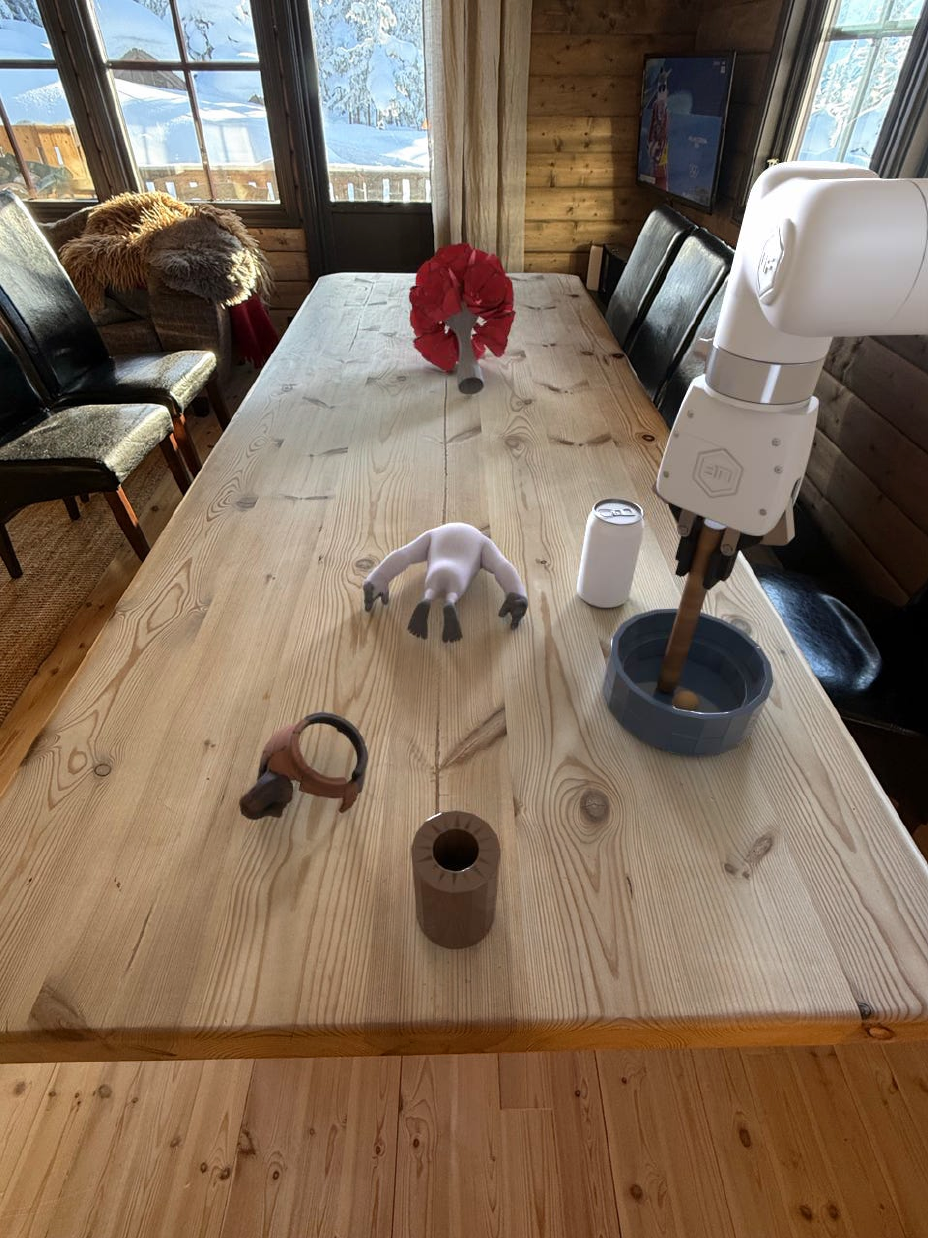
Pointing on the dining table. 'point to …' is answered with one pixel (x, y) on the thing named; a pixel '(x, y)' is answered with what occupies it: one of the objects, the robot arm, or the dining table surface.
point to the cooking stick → (689, 606)
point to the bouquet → (461, 311)
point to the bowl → (687, 684)
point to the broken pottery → (301, 770)
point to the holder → (455, 878)
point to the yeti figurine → (448, 576)
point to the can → (610, 552)
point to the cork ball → (686, 701)
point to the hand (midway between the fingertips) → (700, 574)
